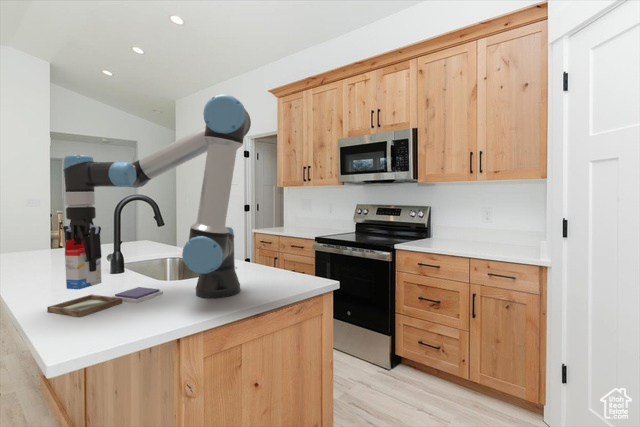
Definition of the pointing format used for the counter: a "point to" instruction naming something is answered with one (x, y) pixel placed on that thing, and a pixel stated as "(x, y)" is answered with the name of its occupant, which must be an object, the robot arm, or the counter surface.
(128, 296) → the ink pad
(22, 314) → the counter surface
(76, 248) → the ink box
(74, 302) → the frame
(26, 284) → the counter surface
